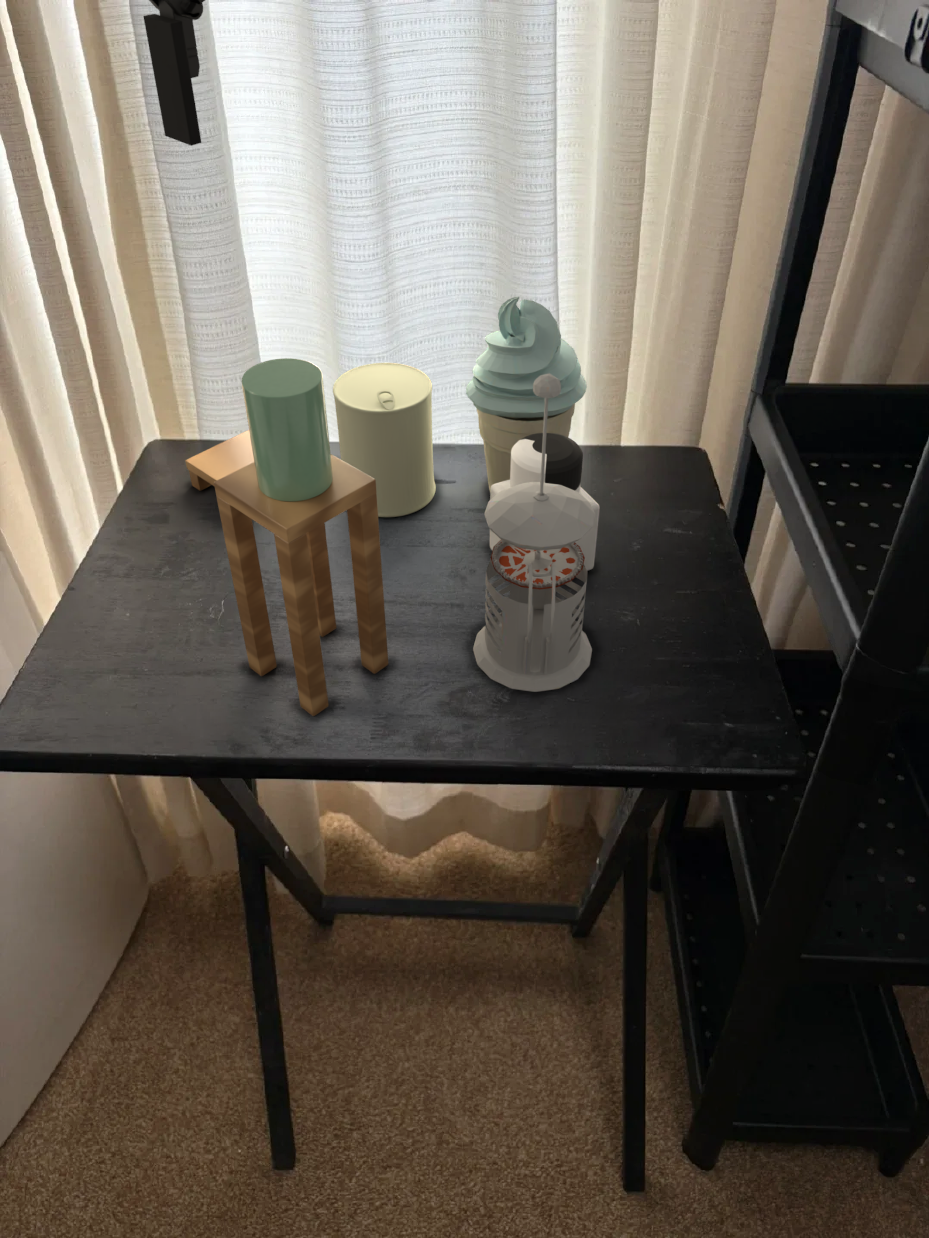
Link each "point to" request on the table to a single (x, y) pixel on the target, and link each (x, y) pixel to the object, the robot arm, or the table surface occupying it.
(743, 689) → the table surface
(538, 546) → the french press
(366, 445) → the can
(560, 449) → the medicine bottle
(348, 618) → the table surface
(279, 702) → the table surface
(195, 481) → the stand
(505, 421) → the ice cream cone
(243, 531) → the front shelf
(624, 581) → the table surface
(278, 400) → the green cylinder
